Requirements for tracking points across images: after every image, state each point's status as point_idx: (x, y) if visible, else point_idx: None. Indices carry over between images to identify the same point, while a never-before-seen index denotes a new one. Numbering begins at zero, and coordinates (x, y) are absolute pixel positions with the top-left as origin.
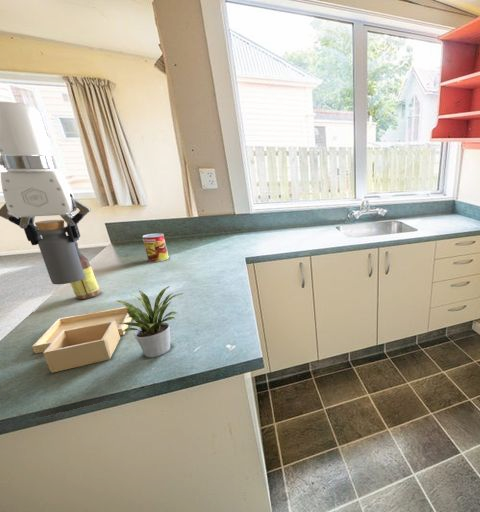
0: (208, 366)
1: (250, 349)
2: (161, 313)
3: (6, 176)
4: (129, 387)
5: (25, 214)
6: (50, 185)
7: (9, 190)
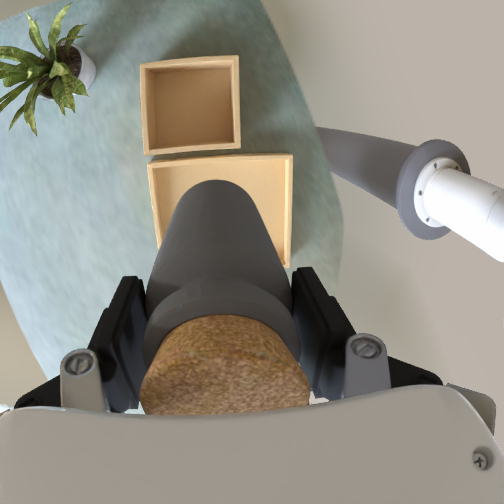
0: (18, 20)
1: None
2: (24, 83)
3: None
4: None
5: (366, 407)
6: None
7: None
